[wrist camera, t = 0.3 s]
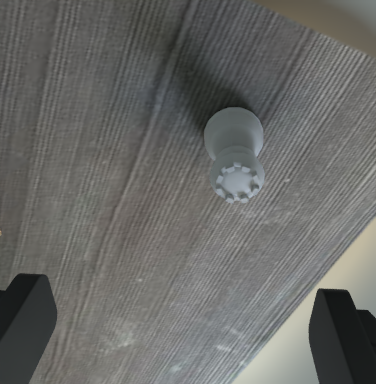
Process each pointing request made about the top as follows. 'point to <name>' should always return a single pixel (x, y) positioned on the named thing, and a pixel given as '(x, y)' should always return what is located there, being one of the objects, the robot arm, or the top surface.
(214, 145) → the rook chess piece
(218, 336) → the top surface
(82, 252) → the top surface
